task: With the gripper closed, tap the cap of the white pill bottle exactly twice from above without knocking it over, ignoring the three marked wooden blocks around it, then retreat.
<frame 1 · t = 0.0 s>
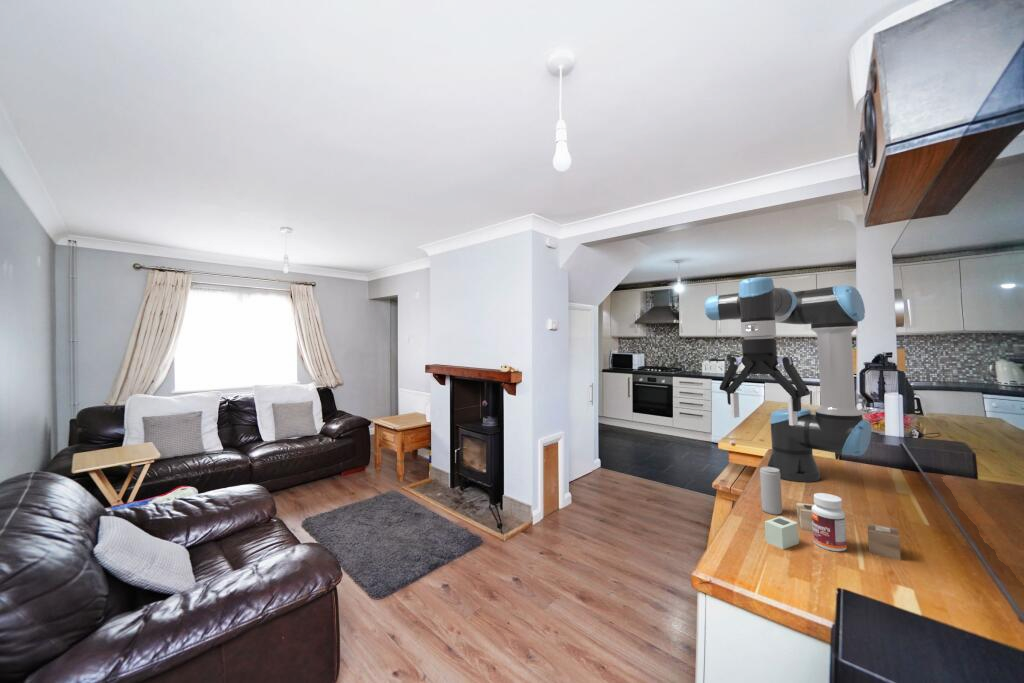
hand: (762, 420, 98), 28 cm above the counter, fingers open, 13 cm apart
sage block: (782, 542, 92), on the counter
beverage can: (772, 512, 108), on the counter
pill bottle: (829, 546, 90), on the counter
beech block: (811, 527, 99), on the counter
walnut block: (884, 552, 86), on the counter
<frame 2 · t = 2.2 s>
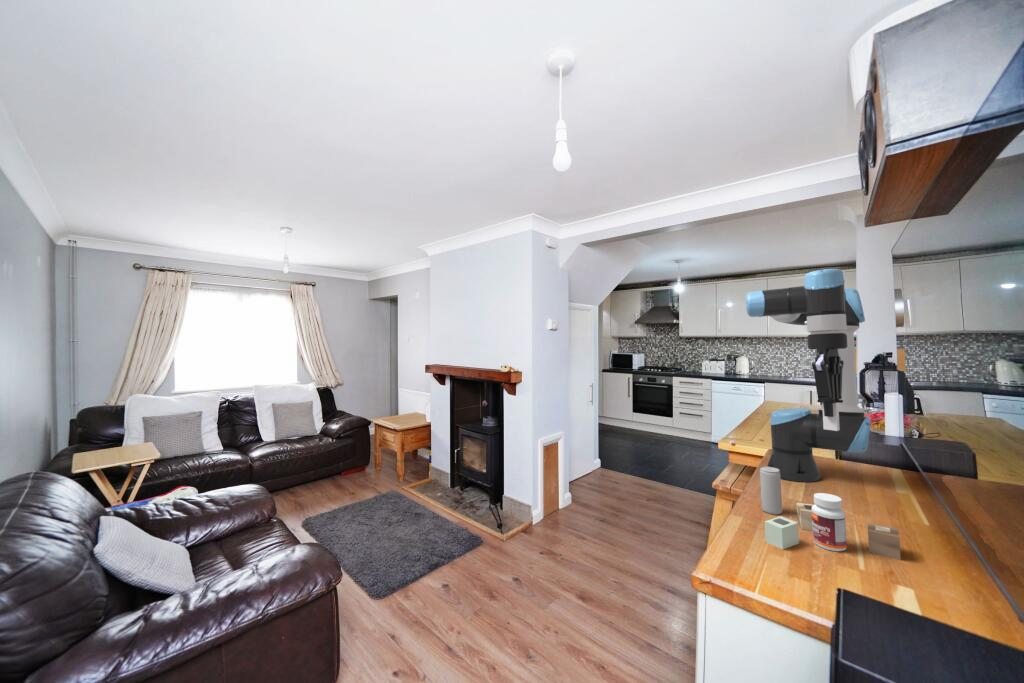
hand: (831, 429, 93), 26 cm above the counter, fingers closed
nothing on the counter moved.
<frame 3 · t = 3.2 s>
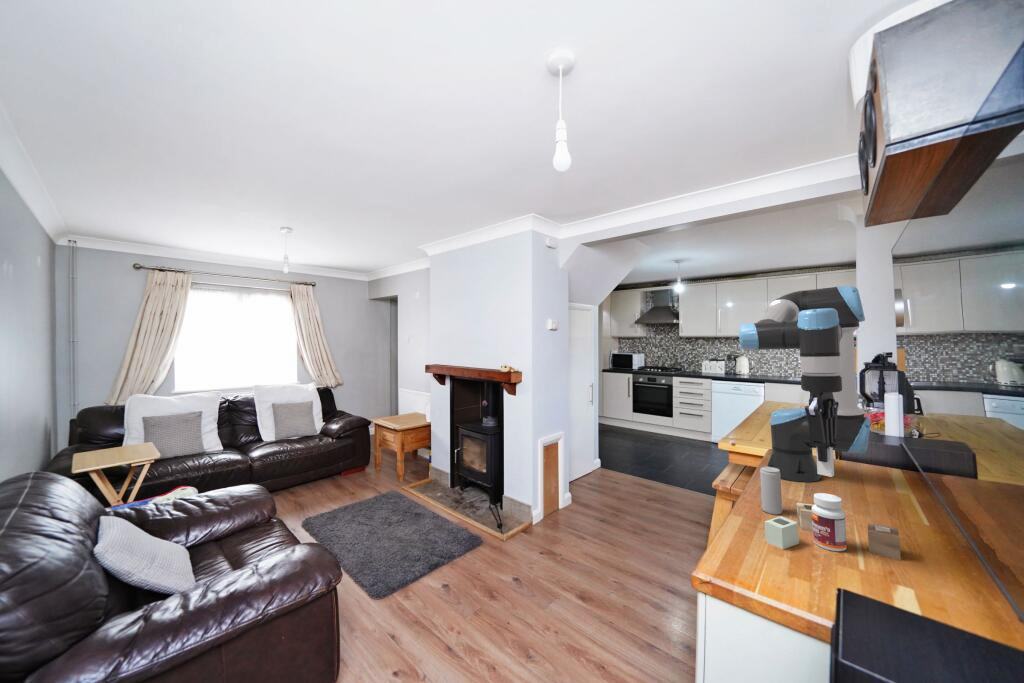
hand: (825, 474, 90), 17 cm above the counter, fingers closed
nothing on the counter moved.
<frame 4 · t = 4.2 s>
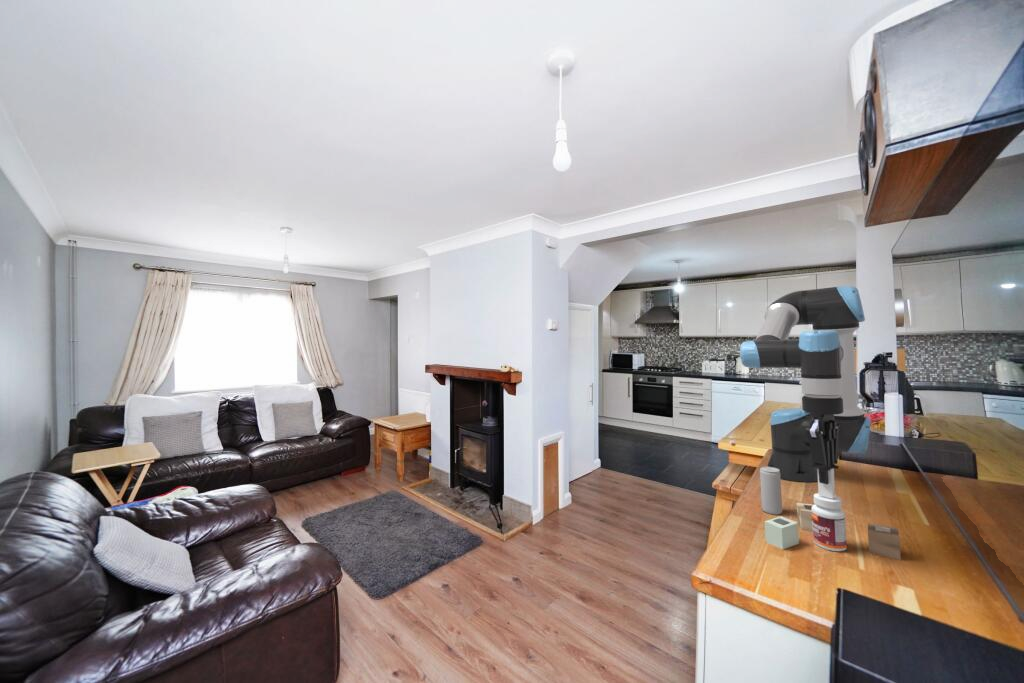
hand: (826, 496, 90), 12 cm above the counter, fingers closed
pill bottle: (829, 546, 90), on the counter, touching gripper
everything else where it was.
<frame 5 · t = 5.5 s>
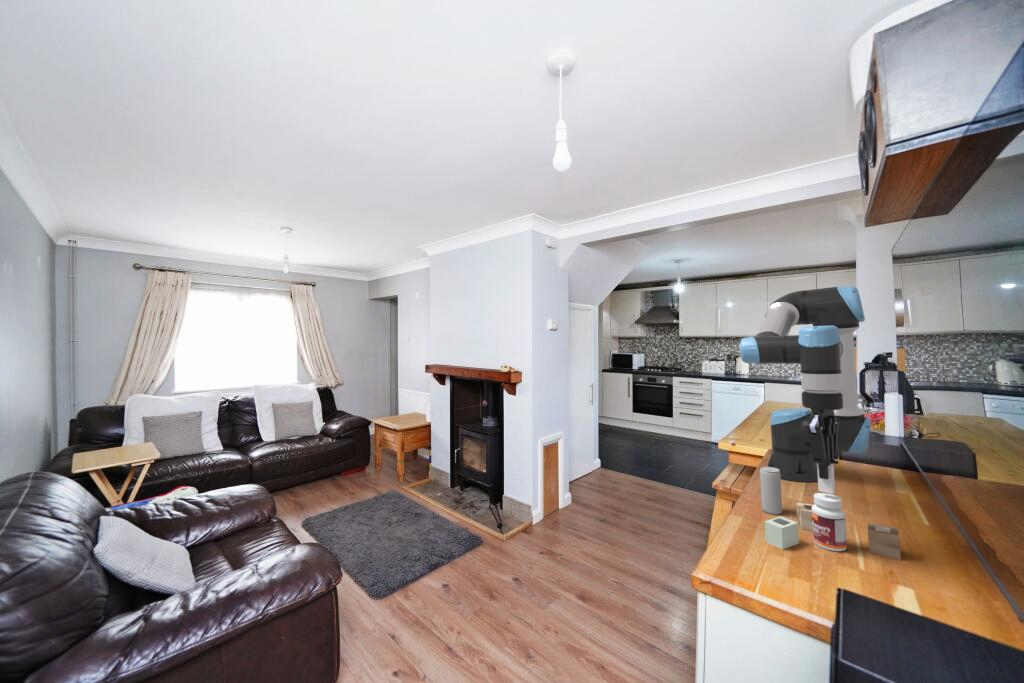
hand: (826, 491, 90), 13 cm above the counter, fingers closed
pill bottle: (829, 546, 90), on the counter
everything else where it was.
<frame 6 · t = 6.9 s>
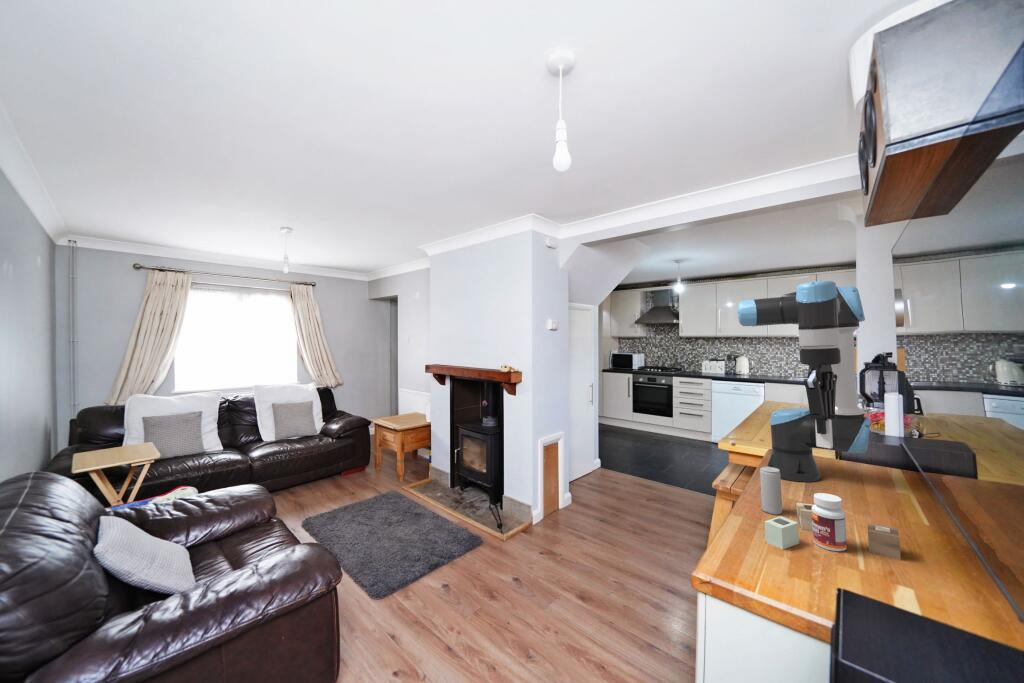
hand: (824, 446, 90), 23 cm above the counter, fingers closed
nothing on the counter moved.
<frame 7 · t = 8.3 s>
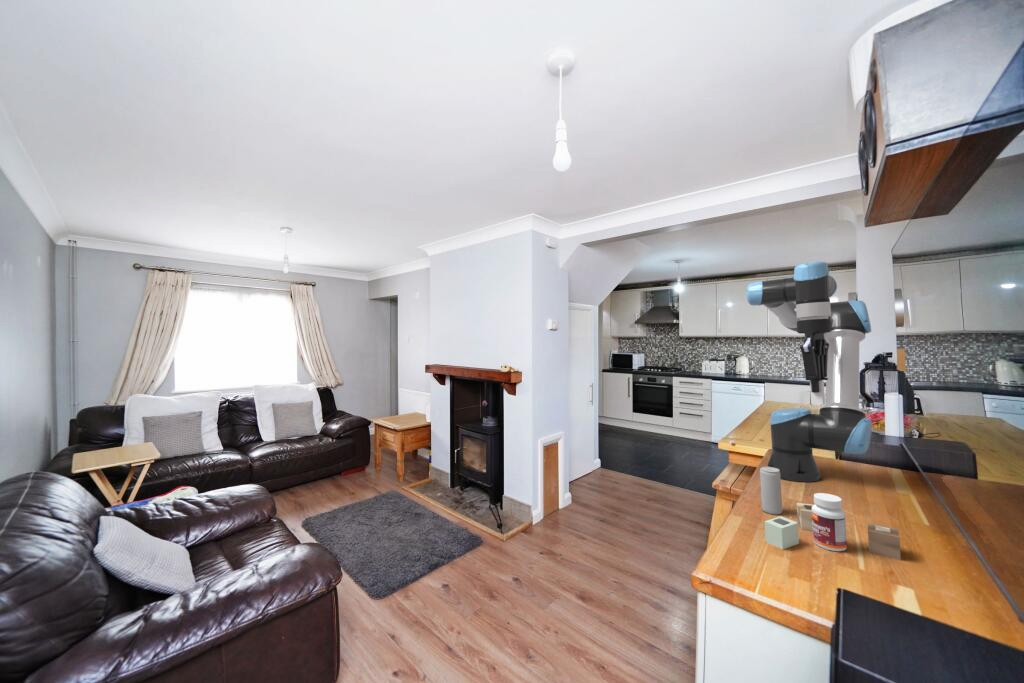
hand: (817, 403, 106), 30 cm above the counter, fingers closed
nothing on the counter moved.
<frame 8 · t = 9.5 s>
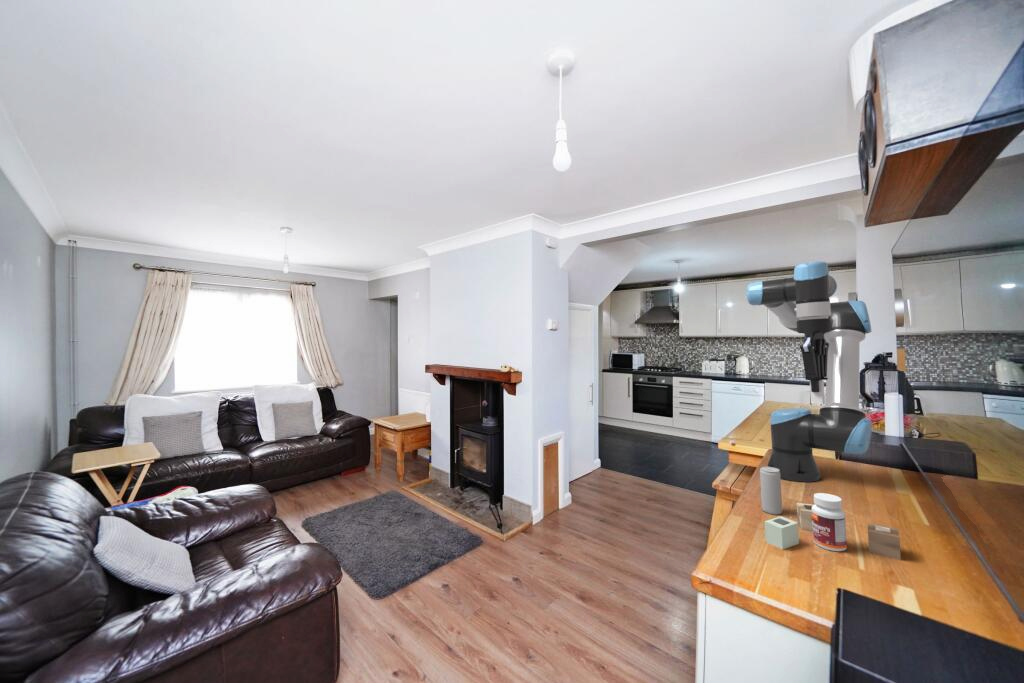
hand: (817, 403, 106), 30 cm above the counter, fingers closed
nothing on the counter moved.
at the end: pill bottle moved 0.2 cm from its start; pill bottle tilted 0°; pill bottle touching counter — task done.
